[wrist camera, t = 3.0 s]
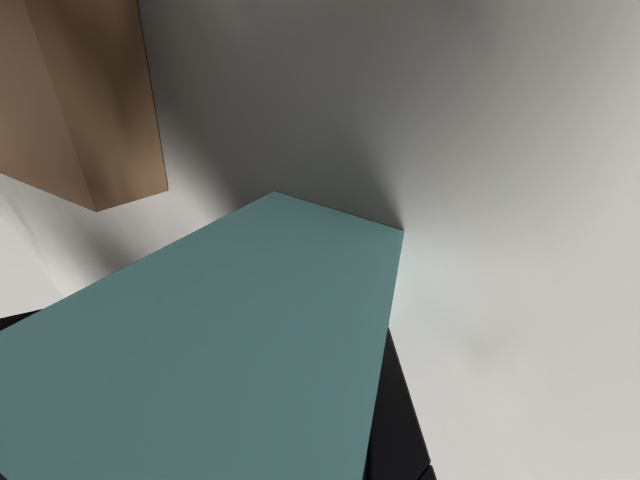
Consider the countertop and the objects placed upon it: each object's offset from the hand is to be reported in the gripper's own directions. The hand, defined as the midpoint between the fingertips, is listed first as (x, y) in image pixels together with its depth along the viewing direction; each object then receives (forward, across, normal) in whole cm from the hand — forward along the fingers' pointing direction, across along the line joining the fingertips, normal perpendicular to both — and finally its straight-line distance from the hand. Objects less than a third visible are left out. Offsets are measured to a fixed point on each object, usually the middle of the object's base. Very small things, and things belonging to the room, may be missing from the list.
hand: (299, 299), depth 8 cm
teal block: (+2, 0, 0) cm, 2 cm away
